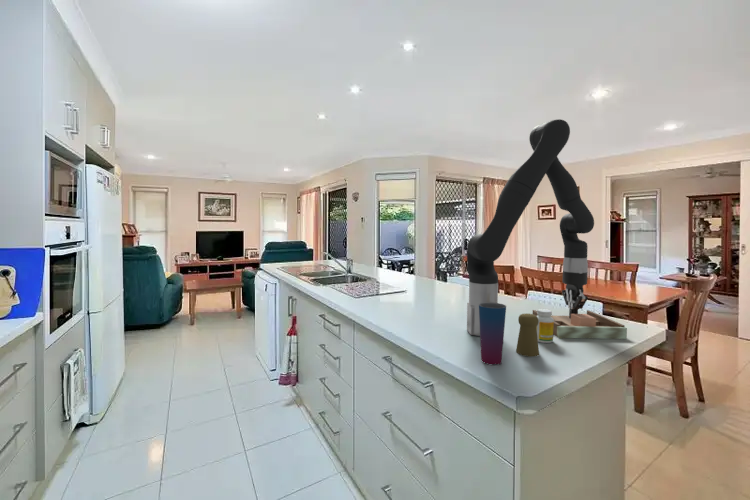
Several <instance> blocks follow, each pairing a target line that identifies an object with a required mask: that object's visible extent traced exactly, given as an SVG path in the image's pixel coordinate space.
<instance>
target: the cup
mask: <svg viewBox="0 0 750 500" xmlns="http://www.w3.org/2000/svg"><path fill="white" fill-rule="evenodd" d="M506 313H507V305H506V304H503V303H500V302H498V303H480V304H479V320H480V336H479V338H480V357H481V358H480V360H482V361H483V362H485V363H484V364H486V363H488V364H487V365H489V364H499V365H500V363H501V364H502V358H503V349H504V348H503V346H504V338H505V336H504V335H505V326H506V325H505V324H506V315H507V314H506ZM482 361H481V362H482ZM483 362H482V363H483Z"/></svg>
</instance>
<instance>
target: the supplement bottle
mask: <svg viewBox="0 0 750 500" xmlns="http://www.w3.org/2000/svg"><path fill="white" fill-rule="evenodd" d="M536 311H537V314H538V316H537V317H538V320H539V323H538V325H537V326H536V330H537V339H538V343H542V344H543V343H544V344H551V343H553V342H554V335H553V326H554V320H553V318H552V317H550V316H553V315H552V313H553V312H552V310H550V309H546V308H545V309H544V308H538V309H537V310H536Z"/></svg>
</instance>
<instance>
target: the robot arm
mask: <svg viewBox="0 0 750 500" xmlns="http://www.w3.org/2000/svg"><path fill="white" fill-rule="evenodd" d="M570 135H571V128H570V124H569V123H568V122H567V121H566V120H563V119H552V120H550V121H546V122H544V123H541V124H538V125H536V126H534V128H533V129H531V131H530V134H529V139H528V140H529V144H530V147H531V149H532V150H533V152H532V154H531V155H530V156H529V157H528V158H527V159H526V160H525V161H524V163H522V164H521V165H520V166H519V167H518V168H517V169H516V170H515V171H514V172H513V173H512V174H511V175H510V177H509V178H508V180H507V181H506V183H505V185H504V187H503V189H502V190H501V192H500V194H499V197H498V199H497V203H496V204H497V205H496V208H495V214H494V215H493V218H492V220H491V221H490V223H489V224H488V226H487V227H486V230H484V232H483V233H477V234H475V235H473V236H471V237H470V239H469V240H468V242H467V248H466V267H467V268H466V269H467V271H466V272H467V274H468V302H467V305H466V331H467V332H468V333H469V335H471V336H475V337H476V336H477V337H480V320H479V304H480V303H499V301H498V299H499V297H498V296H499V275H498V272H497V271H496V269H495V264H494V263H495V261H496V260H498V259H499V258H500V256H501V255H502V253H503V252H504V250H505V247H506V245H507V243H508V240H509V238H510V237H511V234H512V232H513V230H514V228H515V226H516V225H517V223H518V221H519V219H520V218H521V216H522V215H523V213H524V211H525V210H526V208H527V206H528V205H529V204H530V201H532V200H531V199H532V198H533V196H534V195H535V193H536V191H537V189H538V187H539V185H540V183H541V182H542V180H543V179H544V177H545V175H546V176H547V179H548V180H549V183H550V185H551V188H552V191H553V193H554V196H555V199H556V202H557V206H558V208H559V209H560V210H562V211H565V212H568V213H566V214H564V215H562V217H561V219H560V220H559V221H560V222H559V231H560V234H561V239H562V242H563V246H564V248H563V249H564V250H563V252H564V253H563V262H562V279H561V280H562V283H563V284H564V285H565V289H562V290H561V293H562V297H563V299H564V302H565V305H566V306H568V307H567V308H568V310H569V311H568V313H569V314H568V316H569V318H570V319H571V314H579V310H580V309H581V310H582V309H583V308H584V306H585V304H586V302H587V300H588V296H587V295H585V294H584V286H587V284H588V274H589V272H588V268H589V265H588V243H587V242H586V241H584V240H582V239H580V238H579V237H578V236H579V235H578V234H588V233H590V232H591V231H592V230H593V229H594V226H595V220H594V219H595V218H594V216H593V214H592V212H591V210H589V208H588V206H587V205H586V203H585V202H584V201H583V200H582V198H581V194H580V191H579V188H578V186H577V183H576V180H575V179H574V177H573V176H572V174H571V173H570V172H569V171H568V170H567V169H566V168H565V166H564V165H563V164H562V162H561V161H560V160H559V159H560V158H558V156H559V154H561V152H562V150H563V149H564V147H566V145H567V143H568V141H569V139H570Z"/></svg>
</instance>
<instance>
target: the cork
mask: <svg viewBox="0 0 750 500" xmlns="http://www.w3.org/2000/svg"><path fill="white" fill-rule="evenodd" d="M538 323H539V320H538V317H537V316H536V315H533V313H521V314H519V316H518V324H519V331H518V335H517V336H518V337H517V343H516V350H515V353H517V354H518V355H520V356H523V357H531V358H532V357H533V358H534V357H538V356H540V350H539V342H538V339H537V330H536V326H537V325H538Z"/></svg>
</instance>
